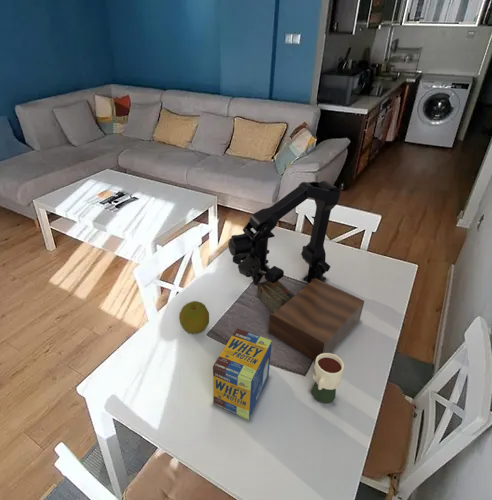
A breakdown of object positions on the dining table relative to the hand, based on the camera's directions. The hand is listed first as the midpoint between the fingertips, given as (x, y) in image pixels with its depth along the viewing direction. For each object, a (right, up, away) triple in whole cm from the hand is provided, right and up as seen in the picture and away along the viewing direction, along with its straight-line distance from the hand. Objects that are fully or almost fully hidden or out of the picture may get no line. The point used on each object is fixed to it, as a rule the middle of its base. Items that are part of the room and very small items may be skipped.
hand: (256, 284), depth 139 cm
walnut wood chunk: (+18, -13, -12) cm, 25 cm away
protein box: (-8, -27, -32) cm, 43 cm away
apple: (-22, -14, -11) cm, 28 cm away
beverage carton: (+8, -8, -4) cm, 12 cm away
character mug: (+14, -27, -34) cm, 46 cm away
